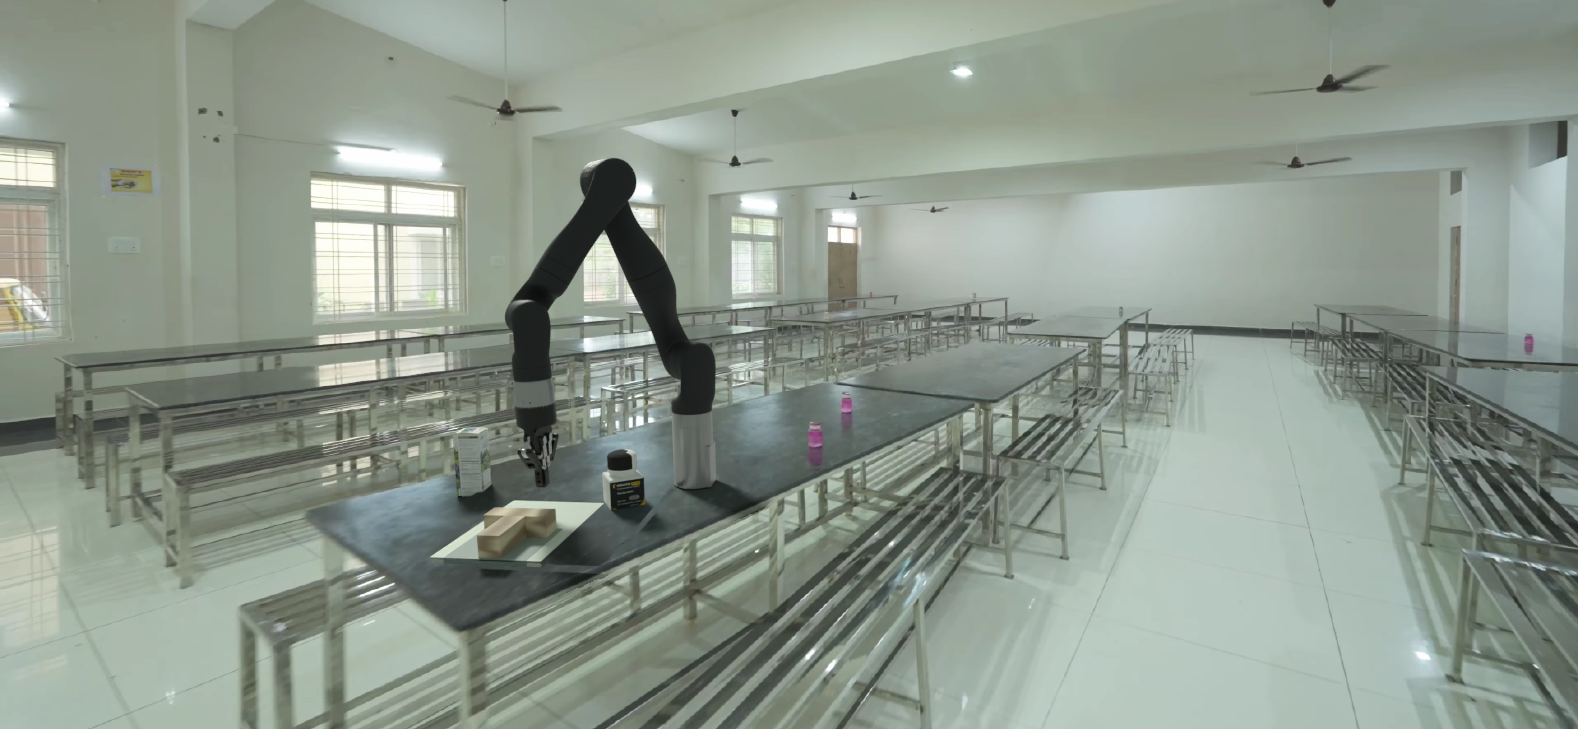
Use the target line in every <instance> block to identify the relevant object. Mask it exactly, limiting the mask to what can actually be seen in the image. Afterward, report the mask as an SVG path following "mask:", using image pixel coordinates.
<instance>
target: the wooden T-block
mask: <svg viewBox="0 0 1578 729" xmlns="http://www.w3.org/2000/svg"><path fill="white" fill-rule="evenodd" d="M483 521H484V529H485V530H483V531H482V532H481V533H479V534H478V535H477V546H478V558H502V557H503V556H504V555H505V554H506V553H508V552H509V551H510V550H511V549H513V548H514V547H515V546H516V545H517V544H519V543H520V542H521V541H522V540H523V539H525V538H526V537H542V538H547V537H549V536H550V535H551V534H552V533H553V532H554V531H555V530H556V529H557V524H556V509H540V508H503V507H500V506H499V507H496V506H495V507H493V508H492V509H490V510H489V511H488V512H486V513H484V514H483Z"/></svg>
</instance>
